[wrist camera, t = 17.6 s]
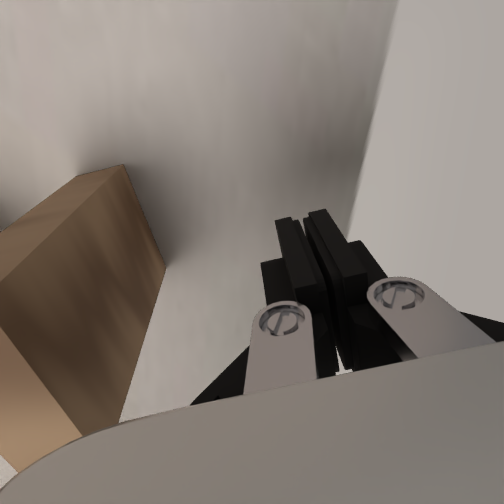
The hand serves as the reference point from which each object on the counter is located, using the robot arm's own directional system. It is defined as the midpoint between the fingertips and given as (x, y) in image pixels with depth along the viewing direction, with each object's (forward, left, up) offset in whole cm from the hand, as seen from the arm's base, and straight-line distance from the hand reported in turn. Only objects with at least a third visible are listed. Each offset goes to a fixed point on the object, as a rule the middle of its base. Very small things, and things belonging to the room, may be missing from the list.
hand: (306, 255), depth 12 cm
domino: (0, +8, -7) cm, 11 cm away
